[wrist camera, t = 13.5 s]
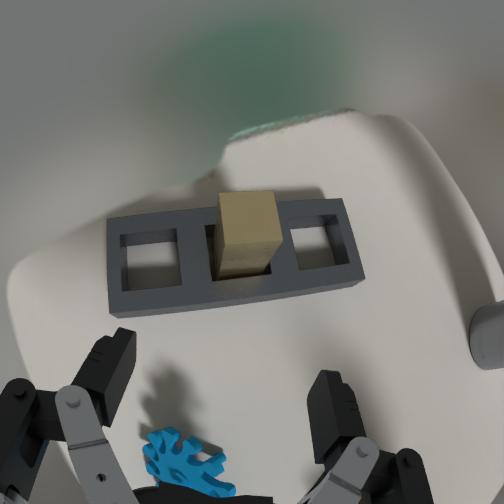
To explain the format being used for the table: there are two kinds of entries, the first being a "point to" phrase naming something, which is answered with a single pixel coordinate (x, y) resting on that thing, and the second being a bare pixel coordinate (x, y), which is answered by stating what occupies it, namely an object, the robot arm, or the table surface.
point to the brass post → (245, 233)
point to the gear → (185, 464)
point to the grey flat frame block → (198, 268)
